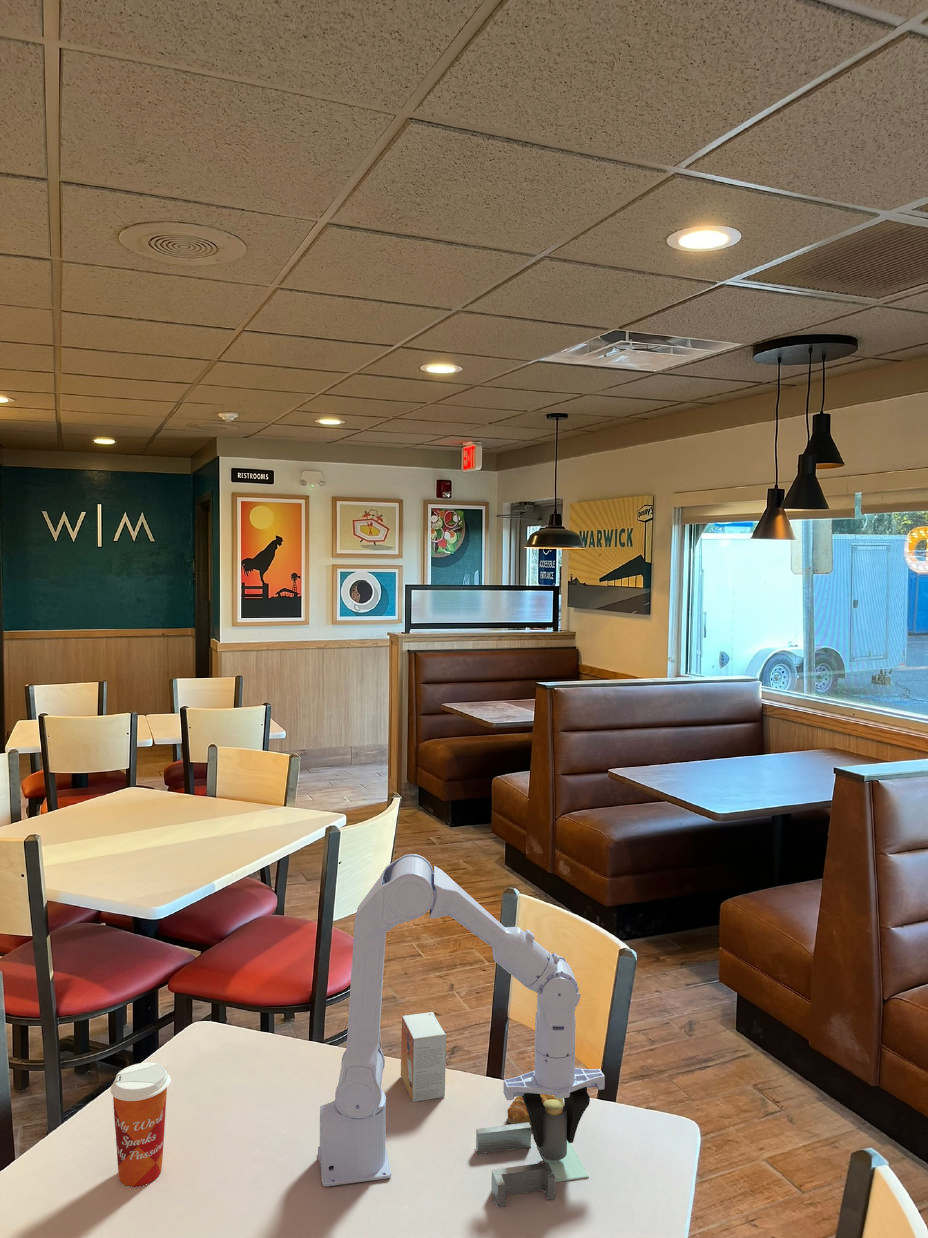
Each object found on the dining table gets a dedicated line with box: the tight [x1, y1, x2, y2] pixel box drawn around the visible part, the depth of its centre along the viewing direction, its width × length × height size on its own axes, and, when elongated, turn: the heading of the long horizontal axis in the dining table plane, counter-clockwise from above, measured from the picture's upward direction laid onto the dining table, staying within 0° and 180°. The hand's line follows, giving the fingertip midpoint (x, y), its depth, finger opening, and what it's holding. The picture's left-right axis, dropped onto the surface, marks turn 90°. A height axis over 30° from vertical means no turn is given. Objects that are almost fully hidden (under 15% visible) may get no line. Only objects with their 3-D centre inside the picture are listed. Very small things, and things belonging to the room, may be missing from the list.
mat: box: [537, 1141, 589, 1183], centre depth 127 cm, size 5×8×1 cm, turn 12°
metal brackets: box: [475, 1122, 556, 1208], centre depth 124 cm, size 8×12×3 cm, turn 12°
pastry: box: [506, 1094, 564, 1128], centre depth 138 cm, size 9×7×4 cm
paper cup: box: [110, 1062, 172, 1188], centre depth 123 cm, size 8×8×14 cm
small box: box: [400, 1011, 447, 1103], centre depth 145 cm, size 8×6×10 cm
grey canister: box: [538, 1099, 567, 1161], centre depth 127 cm, size 4×4×7 cm
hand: (553, 1141), depth 126 cm, fingers closed on grey canister, 4 cm apart
